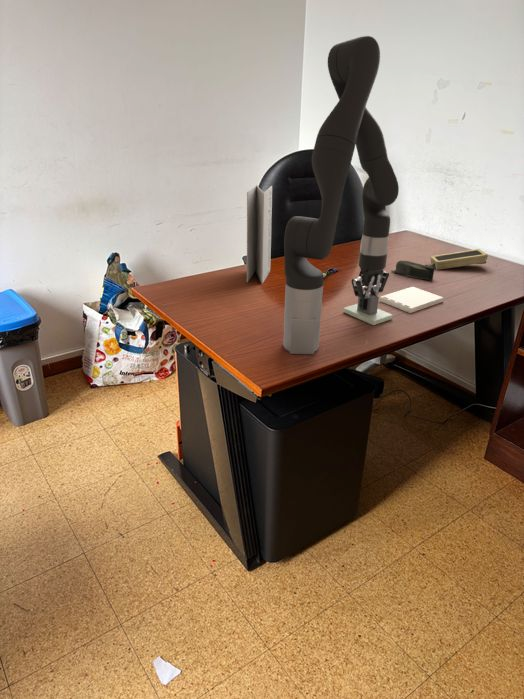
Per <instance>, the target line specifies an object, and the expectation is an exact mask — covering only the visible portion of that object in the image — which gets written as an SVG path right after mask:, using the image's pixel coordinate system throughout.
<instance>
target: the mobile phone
mask: <svg viewBox="0 0 524 699" xmlns="http://www.w3.org/2000/svg"><path fill="white" fill-rule="evenodd" d="M426 265H427V264H426ZM426 265H425V264H421V263H417V262H414V261H411V260H399V261H397V262H396V265H395V269H394V270H392V269H391V271H390V272H391V273H395V274H399V275H404V276H406V277H411V278H416V279H420V280H423V281H431V280H433V278H434V274H435V270H436V268H434V267H429V266H426Z"/></svg>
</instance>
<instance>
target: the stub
mask: <svg viewBox="0 0 524 699" xmlns="http://www.w3.org/2000/svg"><path fill="white" fill-rule="evenodd" d="M363 294H365V291H364V292H363ZM357 297H358V296H357ZM367 299H368V302H367V310H365V311H364V310H361V309H360V308H359V303H360V297H358V298H357V303H355V304H352V305H349V306H348V305H347V306H345V307H343V308H342V309H343V311H342V312H343V313H345V314H347V315H350V316H351V317H354V318H356V319H358V320H360V321H362V322H365V323H367V324H369V325H372V326H376V325H379V324H381V323H384V322H387V321H390V320H392V319H393V314H392V313H390V312H387V311H384V310H383V309H379V308H378V306H379V300H380V296H378V295H377V296H375V295H372V294H371V293H370V292H369V294H368V298H367Z"/></svg>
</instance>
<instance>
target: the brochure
mask: <svg viewBox="0 0 524 699" xmlns="http://www.w3.org/2000/svg"><path fill="white" fill-rule="evenodd" d="M272 208H273V185H271V186H269V188H267V189H266V190H265V191H263V190H262V188H260V187H259V185H258V184H256V185H255V186H253V187H252V188H251V189H249V190H248V191H247V192H246V283H249V281H250V279H251V278H252V277H253V275H254V274H255V272H256V274H257V276H258V279H259V281H260V283H261V284H263V283H264V282H265V280H266V279H267V277H268V276H269V274H270V272H271V256H272V255H271V253H272V251H271V250H272V249H271V248H272V216H273V215H272V214H273V213H272V212H273V211H272V210H273V209H272Z"/></svg>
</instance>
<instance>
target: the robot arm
mask: <svg viewBox="0 0 524 699" xmlns="http://www.w3.org/2000/svg"><path fill="white" fill-rule="evenodd" d="M380 62H381V50H380V45H379V43H378V41H377V40H376V38H374V37H373V36H371V35H362V36H358V37H355V38H351V39H348V40H345V41H342V42H340V43H336V44H334V45H333V46H332V47H331V49H330V50H329V52H328V56H327V70H328V73H329V77H330V80H331V82H332V85H333V87H334V90H335V92H336V96H337V98H338V101H337V103H336V105H335V106H334V107H333V108H332V110H331V111H330V113H329V114H328V115H327V117H326V118H325V120H324V121H323V122H322V124H321V126H320V128H319V130H318V133H317V135H316V137H315V138H316V139H315V143H314V146H313V149H312V150H313V152H312V155H311V166H312V171H313V175H314V177H315V180H316V183H317V185H318V189H319V191H320V197H321V208H320V215H319V218H316V217H315V218H314V217H310V216H309V217H307V216H299V215H298V216H296V215H295V216H292V217H291V218H290V219H289V220H288V221H287V222H286V226H285V231H284V238H283V239H284V240H283V248H284V249H283V250H284V251H283V252H284V275H285V287H284V288H285V290H284V291H285V294H284V315H283V316H284V318H283V320H284V321H283V340H282V342H283V344H282V345H283V346H282V347H283V348H284V350H286V351H287V352H289V354H291V355H293V354H294V355H315V352H317V350H319V347H320V346H319V345H320V337H321V336H320V334H321V333H320V332H321V319H322V308H323V307H322V306H323V295H324V294H323V292H324V291H323V290H324V281H325V280H324V279H325V277H324V274H323V272H322V271H321V270H320V268H316V267H315V266H314V265H313V264H311V262H309V260H308V259H313V260H318V261H322V260H325V259H327V257H328V256H330V253H331V250H332V248H333V245H334V240H335V235H336V230H337V224H338V219H339V213H340V206H341V202H342V198H343V194H344V189H345V185H346V182H347V178H348V174H349V172H350V171H349V170H350V167H351V165H352V164H351V163H352V162H353V161H352V160H353V157H354V156H353V155H354V152H355V149H356V151H357V156H358V160H359V163H360V166H361V168H362V170H364V172H365V173H366V175H367V177H368V178H367V179H366V181H365V182H364V184H363V187H362V195H361V196H362V208H363V209H362V210H363V217H364V220H363V227H362V228H363V229H362V234H361V236H362V237H361V239H360V247H359V248H360V249H359V260H358V267H359V269H360V270H359V274H358V277H356V278H352V279H351V285H352V288H353V289H352V290H353V293H354V296H356V297H360V303H359V308H360V309H361V310H364V311H365V310H367V302H368V299H367V298H368V294H369V293H370V294H372V295H375V296H377V297H378V295H379V294H380V293H383V291H384V289H385V286H386V284H387V281H388V279H389V276H390V273H389V272H387V271H384V269H386V266H387V259H388V258H387V257H388V251H389V235H390V225H391V217H390V214H388V212H387V210H386V209H387V208H386V207H387V206H391V205H393V203H395V202H396V200H397V199H398V196H399V189H400V188H399V182H398V178H397V176H396V174H395V172H394V171H395V170H394V168H393V166H392V164H391V162H390V160H389V157H388V151H387V145H386V142H385V137H384V133H383V130H382V129H381V126H380V125H379V123H378V122H377V120H376V119H375V117H374V116H373V115H372V114H371V112H370V111H369V110H368V108H367V103H368V101H369V98H370V95H371V92H372V89H373V87H374V83H375V82H376V79H377V76H378V72H379V68H380ZM364 292H365V294H363V293H364Z"/></svg>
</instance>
